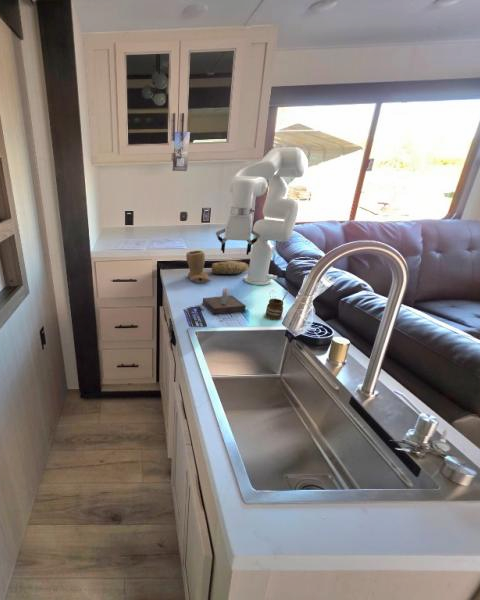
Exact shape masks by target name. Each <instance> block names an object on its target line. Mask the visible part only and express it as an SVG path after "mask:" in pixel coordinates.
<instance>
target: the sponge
mask: <svg viewBox="0 0 480 600" xmlns="http://www.w3.org/2000/svg"><path fill="white" fill-rule="evenodd" d="M248 270H249V264H248V263H247V262H243V261H237V260H226V261H219V262H214V263H212V264H211V273H212V274H215V275H236V274H240V273H243V272H245V271H248Z"/></svg>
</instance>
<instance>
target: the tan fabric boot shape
mask: <svg viewBox="0 0 480 600" xmlns="http://www.w3.org/2000/svg"><path fill="white" fill-rule="evenodd" d="M185 256H186V262H187V266H188V268H189V272H188V275H187V276H188V278H189V279H190V281H192V282H195V283H197V284H206V283H209V282H211V279H210V277H209V275H208V274H207V273H206V272H205V271H204V268H205V267H204V266H205V263H206V254H205V252H204V251H202V250H191V251H188V252H186V255H185Z"/></svg>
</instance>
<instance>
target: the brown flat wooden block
mask: <svg viewBox="0 0 480 600" xmlns="http://www.w3.org/2000/svg"><path fill="white" fill-rule="evenodd" d="M221 302H222V295H221V296H210V297H202V306H203V307H205V308H206V309H207V310H208V311H209V312H210V313H211V314H212V315H213V316H221V315H229V314H239V313H246V312H245V311H246V304H245V303H243V302H242V301H241V300H239V299H238V298H236V297H235V296H234V295H227V299H226V305H225V304H221Z"/></svg>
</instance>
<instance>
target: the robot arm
mask: <svg viewBox="0 0 480 600" xmlns="http://www.w3.org/2000/svg"><path fill="white" fill-rule="evenodd" d="M308 166H309V161H308V158H307V156H306V154H305V152H304V151H303V150H302V149H301V148H300V147H295V146H293V147H292V146H289V147H287V146H285V147H275V148H272V149H270V150H269V151H268V152H267V153H266V154H265V155H264V156H263V157H262V159H261V160H259V162H255V163H252V164H250V165H248V166H245V167H243V168H241V169H240V170H238V171H237V172H236V173H235V174H234V175H233V177H232V178H231V180H230V182H229V192H230V193H231V195H232V197H231V206H230V213H228V215H227V218H226V223H225V228H222V229H220V230H218V231H216V232H215V235H216V238H217V240H218V241H219V242H220V243H221V247H220V251H222V254H225V250H226V248H225V247H226V242H227V241H242V242H243V241H246V242H247V244H246V245H247V246H246V251H245V253H246V256H249V253H250V259H249V264H248V269H247V275H245V276H244V277H243V281H244V282H245V283H247V284H249V285H255V286H266V285H269V284H270V282H271V280H278V275H274V274H269V272H270V271H269V270H270V264H271V260H272V259H271V258H272V254H273V245H272V243H271V242H279V243H287V242H288V241H289V240H290V239H291V238H292V235H293V232H294V228H295V225H296V224H297V223H296V222H297V219H298V216H299V214H300V208H301V206H300V205H301V204H300V201H299V200H298V199H295V198H288V197H287V195H288V192H289V187H288V184H287V182H286V180H284V178H301V177H303V176H305V174H306V173H307V171H308V168H309V167H308ZM267 189H268V191H267ZM266 192H267V194H266V196H265V201H264V204H263V207H262V215H263V216H264V217H265V218H268V219H265V218H263V219H259V220H256V221H255V223H254V224H253V213H255V211H256V209H255V208H253V207H252V205H253V197H254V198H255V197H262V196H263V195H264V194H265V193H266ZM275 219H277V220H275ZM278 219H279V220H278ZM221 234H224V236H223V237H222V236H221ZM251 236H252V239H251Z"/></svg>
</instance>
